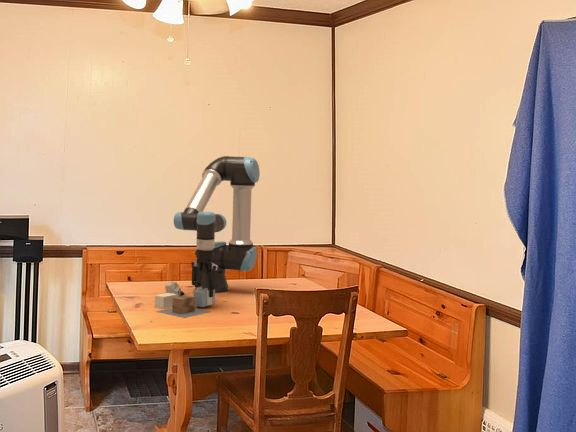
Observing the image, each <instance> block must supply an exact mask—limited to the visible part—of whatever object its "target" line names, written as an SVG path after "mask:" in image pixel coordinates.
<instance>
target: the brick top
mask: <svg viewBox="0 0 576 432" xmlns="http://www.w3.org/2000/svg"><path fill="white" fill-rule="evenodd" d="M207 289H208V288H205V289H201V290H196V291H195V290H193V293H192V296H195V307H200V308H205V307H207V306H209V305H206V304H207ZM215 303H216V292H215V290H213V297H212V304H211V305H215ZM211 305H210V306H211Z"/></svg>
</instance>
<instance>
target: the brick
mask: <svg viewBox="0 0 576 432" xmlns="http://www.w3.org/2000/svg"><path fill="white" fill-rule="evenodd" d="M173 297H177V294H173V293H166V292H165V293H159V294H155V295H154V308H156V309H157V308H158V309H161V310H165V309H169V308H172V304H173Z"/></svg>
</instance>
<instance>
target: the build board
mask: <svg viewBox="0 0 576 432" xmlns="http://www.w3.org/2000/svg"><path fill="white" fill-rule="evenodd" d="M154 312H155V313H160V314H163V315H164V314H165V315H168V316H174V317H177V318H183V319H187V318H191V317H195V316H199V315H205V314H207V313H212V311H209V310H205V309H201V308H197V307H195V311H193V312H188V313H184V314H178V313H174V312H172V307H169V308H165V309H160V310H156V311H154Z"/></svg>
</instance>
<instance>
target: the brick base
mask: <svg viewBox="0 0 576 432" xmlns="http://www.w3.org/2000/svg"><path fill="white" fill-rule="evenodd" d="M171 308H172V312H174V313H178V314H184V313H188V312H193V311H195V308H196V306H195V296H193V295H190V294H189V295H188V294H185V295H183V296H178V297H173V304H172V307H171Z"/></svg>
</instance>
